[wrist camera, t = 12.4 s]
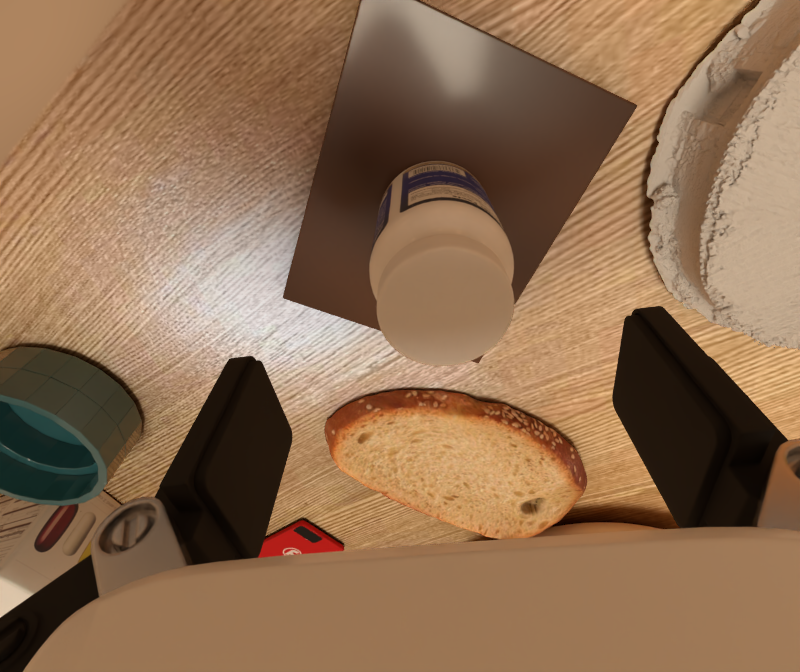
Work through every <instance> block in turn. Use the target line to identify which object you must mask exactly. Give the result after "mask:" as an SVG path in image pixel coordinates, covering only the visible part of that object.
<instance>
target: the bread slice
mask: <svg viewBox="0 0 800 672" xmlns="http://www.w3.org/2000/svg"><path fill="white" fill-rule="evenodd" d="M325 437H326V441H327V443H328V445H329V449H330V454H331V456H332V458H333V460H334V461H335V463H336V465H337V466H338V467H339V469H340V470H341V471H343V472H345V473H346V474H348V475H349V476H351V477H352V478H354V479H355V480H357V481H360V482H361V483H362V484H363V485H364V486H367V487H368V488H371V489H373V490H374V491H379V492H381V493H382V494H383V495H385V496H386V497H388V498H389V499H392V500H395V501H398V502H399V503H401V504H403V505H405V506H407V507H411V508H413V509H415V510H416V511H419V512H421V513H425V514H426V515H428V516H433V517H436V518H438V519H439V520H441V521H445V522H448V523H450V524H453V525H455V526H458V527H460V528H465V529H467V530H470V531H473V532H477V533H480V534H482V535H483V536H485V537H491V538H497V539H500V540H501V539H515V538H530V537H532V536H534V535H537V534H539V533H541V532H543V531H544V530H545V529H547V528H549V527H551V526H552V525H554V524H555V523H557V522H559V521H560V520H561V519H562V518H563V517H564V516H565V515H566V514H567V513H568V512H569V510H570V509H571V508H572V507H573V506H574V504H575V503H576V502H577V500H578V499H579V498H580V497H581V496H582V495H583V493H584V491H585V489H586V485H587V476H586V473H585V470H584V467H583V465H582V462H581V459H580V457H579V455H578V453H577V451H576V450H575V448H574V447H572V446H571V445H570V444H569V443H568V442H567V441H566V440H565V439H564V438H563V437H562V436H560V435H559V434H558V433H557V432H556V431H555V430H554V429H552V428H549V427H547V426H545V425H544V424H543V423H541V422H540V421H539V420H537V419H534V418H532V417H530V416H528V415H525V414H524V413H522V412H521V411H518V410H514V409H512V408H510V407H509V406H508V405H506V404H501V403H487V402H481V401H478V400H475V399H473V398H471V397H469V396H467V395H465V394H460V393H452V392H446V391H441V390H436V391H432V390H428V391H421V390H396V391H392V392H385V393H379V394H377V395H373V396H366V397H363V398H361V399H359V400H357V401H354V402H352V403H349V404H348V405H346V406H344V407H342V408H341V409H339V410H338V411H337V412H335V414H334V415H333V416H332V417H331V418H329V419H327V422H326V425H325Z"/></svg>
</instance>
